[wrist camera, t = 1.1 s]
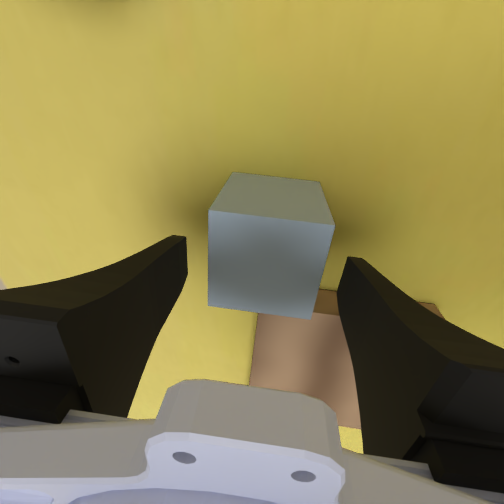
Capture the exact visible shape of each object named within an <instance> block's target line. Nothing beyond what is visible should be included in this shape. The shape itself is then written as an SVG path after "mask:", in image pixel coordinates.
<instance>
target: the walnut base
mask: <svg viewBox="0 0 504 504" xmlns="http://www.w3.org/2000/svg"><path fill="white" fill-rule="evenodd" d="M418 303H419V304H421V305H422V306H424V307H425V308H427V309H428V310H430V311H431V312H433V313H435V314H436V315H438V316H439V317H441V318H443V319H445V318H444V317H443V316H442V314H441V313H440V311H439V310H438V308H437V307H436V305H435V304H429V303H421V302H418ZM249 386H256V387H263V388H270V389H277V390H284V391H291V392H298V393H302V394H306V395H309V396H312V397H315V398H318V399H320V400H322V401H323V402H325V403H326V404H327V405H328V406H329V407H330V408H331V409H332V410H333V411H334V412H335V413H336V417H337V423H338V426H343V427H349V428H356V429H361V422H360V413H359V405H358V397H357V390H356V383H355V377H354V370H353V365H352V360H351V356H350V352H349V349H348V345H347V342H346V338H345V334H344V331H343V327H342V323H341V319H340V316H339V311H338V303H337V291H329V290H322V289H319V290H318V294H317V297H316V301H315V305H314V309H313V313H312V317H311V320H308V319H301V318H293V317H286V316H279V315H271V314H264V313H258V319H257V327H256V335H255V343H254V350H253V358H252V366H251V374H250V381H249Z"/></svg>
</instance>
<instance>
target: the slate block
mask: <svg viewBox="0 0 504 504" xmlns="http://www.w3.org/2000/svg"><path fill="white" fill-rule="evenodd" d="M334 229H335V223H334V220H333V217H332V215H331V212H330V209H329V207H328V204H327V201H326V198H325V196H324V193H323V190H322V187H321V185H320V182H318V181H309V180H300V179H291V178H283V177H274V176H265V175H256V174H247V173H238V172H232V174H231V176H230V177H229V179H228V180H227V182H226V183H225V185H224V186H223V188H222V190H221V191H220V193H219V194H218V196H217V197H216V199H215V200H214V202H213V204H212V205H211V207H210V208H209V210H208V306H213V307H220V308H228V309H235V310H242V311H250V312H257V313H264V314H271V315H279V316H286V317H293V318H301V319H308V320H311V317H312V313H313V309H314V305H315V301H316V297H317V294H318V290H319V286H320V282H321V278H322V275H323V271H324V267H325V263H326V259H327V255H328V252H329V248H330V244H331V240H332V236H333V233H334Z"/></svg>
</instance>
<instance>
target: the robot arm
mask: <svg viewBox="0 0 504 504" xmlns="http://www.w3.org/2000/svg"><path fill="white" fill-rule="evenodd" d="M187 275H188V268H187V244H186V237H184V236H176V235H172V236H170V237H167V238H165V239H163V240H161V241H160V242H158V243H156V244H154V245H152V246H150V247H148V248H146V249H144V250H142V251H140V252H138V253H136V254H134V255H132V256H130V257H127V258H125V259H123V260H121V261H119V262H116V263H114V264H111V265H109V266H106V267H103V268H100V269H97V270H94V271H91V272H88V273H84V274H81V275H77V276H74V277H70V278H66V279H62V280H57V281H53V282H48V283H43V284H37V285H32V286H25V287H18V288H11V289H5V290H0V504H504V349H503V348H501V347H498V346H496V345H494V344H492V343H490V342H487V341H485V340H483V339H481V338H479V337H477V336H475V335H473V334H471V333H469V332H467V331H465V330H463V329H461V328H459V327H457V326H455V325H454V324H452V323H450V322H448V321H446V320H445V319H443V318H441V317H439V316H438V315H436V314H435V313H433V312H431V311H430V310H428V309H427V308H425V307H424V306H422V305H421V304H419V303H418V302H416V301H415V300H413V299H412V298H411V297H409V296H408V295H407V294H405V293H404V292H403V291H401V290H400V289H399V288H398V287H396V286H395V285H394V284H393V283H391V282H390V281H389V280H388V279H387V278H385V277H384V276H383V275H382V274H381V273H379V272H378V271H377V270H376V269H375V268H374V267H372V266H371V265H370V264H369V263H368V262H366V261H365V260H364V259H362V258H356V257H347V261H346V264H345V267H344V270H343V274H342V277H341V280H340V283H339V287H338V290H337V303H338V311H339V316H340V319H341V323H342V327H343V331H344V334H345V338H346V342H347V345H348V349H349V352H350V356H351V360H352V365H353V370H354V377H355V383H356V390H357V397H358V405H359V413H360V422H361V431H362V440H363V452H364V454H360V453H356V452H353V451H350V450H348V449H345V448H342V447H341V442H340V435H339V429H338V423H337V417H336V413H335V412H334V411H333V410H332V409H331V408H330V407H329V406H328V405H327V404H326V403H325V402H323V401H322V400H320V399H318V398H315V397H312V396H309V395H306V394H302V393H298V392H291V391H284V390H277V389H270V388H263V387H256V386H249V385H242V384H235V383H228V382H221V381H214V380H208V379H192V380H184V381H181V382H179V383H177V384H175V385H173V386H171V387H169V388H168V389H167V392H166V394H165V397H164V399H163V402H162V404H161V407H160V410H159V412H158V415H157V417H156V419H139V420H137V419H130V418H127V416H128V413H129V410H130V407H131V404H132V401H133V398H134V396H135V393H136V390H137V387H138V384H139V382H140V379H141V376H142V374H143V371H144V368H145V366H146V363H147V361H148V358H149V356H150V353H151V351H152V348H153V346H154V343H155V341H156V338H157V336H158V334H159V332H160V330H161V328H162V327H163V325H164V323H165V321H166V319H167V317H168V316H169V314H170V312H171V310H172V308H173V307H174V305H175V303H176V301H177V299H178V297H179V295H180V293H181V291H182V289H183V286H184V283H185V281H186V278H187Z"/></svg>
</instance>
